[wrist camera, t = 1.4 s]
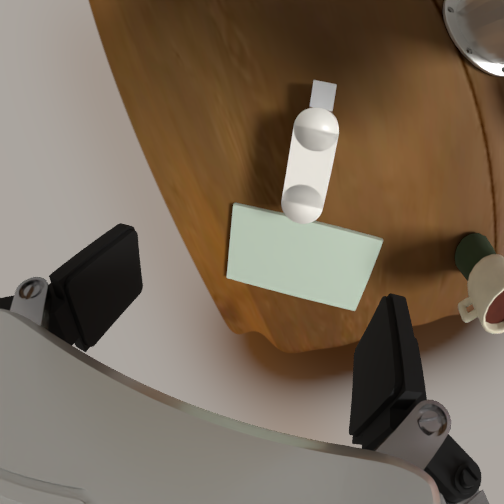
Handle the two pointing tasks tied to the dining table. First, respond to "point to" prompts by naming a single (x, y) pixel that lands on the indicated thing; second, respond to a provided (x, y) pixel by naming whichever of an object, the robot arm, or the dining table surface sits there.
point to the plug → (311, 156)
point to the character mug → (482, 282)
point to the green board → (300, 256)
